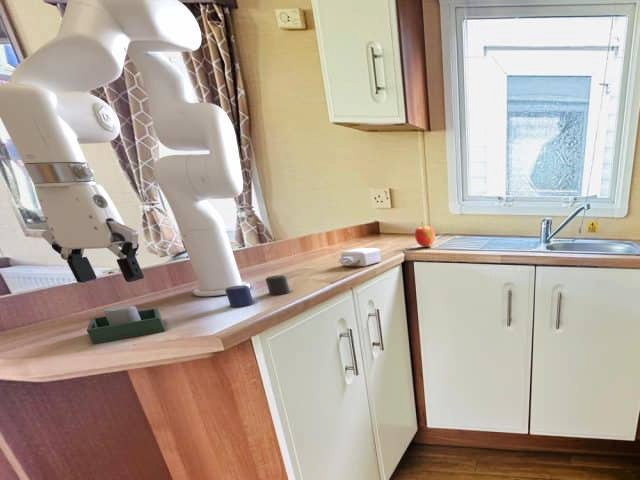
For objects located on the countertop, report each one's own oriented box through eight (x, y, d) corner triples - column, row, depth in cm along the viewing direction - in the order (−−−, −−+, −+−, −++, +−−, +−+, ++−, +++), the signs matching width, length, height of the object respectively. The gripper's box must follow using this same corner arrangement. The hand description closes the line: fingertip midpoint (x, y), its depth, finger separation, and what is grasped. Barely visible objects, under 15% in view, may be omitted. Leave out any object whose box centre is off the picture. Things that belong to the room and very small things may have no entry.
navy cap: (229, 304, 97) (223, 287, 95) (251, 301, 99) (246, 284, 98) (232, 308, 94) (226, 290, 92) (255, 304, 96) (250, 287, 95)
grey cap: (113, 328, 80) (103, 308, 79) (143, 323, 83) (135, 303, 81) (112, 334, 77) (102, 312, 75) (144, 328, 80) (135, 307, 78)
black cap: (267, 293, 107) (263, 277, 105) (287, 290, 109) (283, 274, 108) (272, 296, 104) (267, 279, 102) (292, 292, 106) (287, 276, 104)
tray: (97, 331, 81) (90, 318, 80) (162, 320, 87) (157, 307, 86) (93, 344, 74) (86, 330, 73) (165, 331, 80) (159, 317, 79)
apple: (439, 246, 179) (437, 221, 174) (424, 248, 173) (421, 222, 169) (428, 245, 184) (425, 220, 180) (413, 247, 179) (409, 222, 174)
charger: (330, 269, 135) (359, 261, 148) (354, 270, 133) (381, 262, 145) (327, 254, 133) (356, 247, 146) (351, 254, 131) (379, 247, 143)
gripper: (130, 174, 72) (171, 275, 79) (40, 177, 73) (89, 276, 81) (87, 175, 65) (136, 285, 73) (-11, 178, 67) (47, 286, 74)
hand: (111, 280), depth 77 cm, fingers open, 9 cm apart
